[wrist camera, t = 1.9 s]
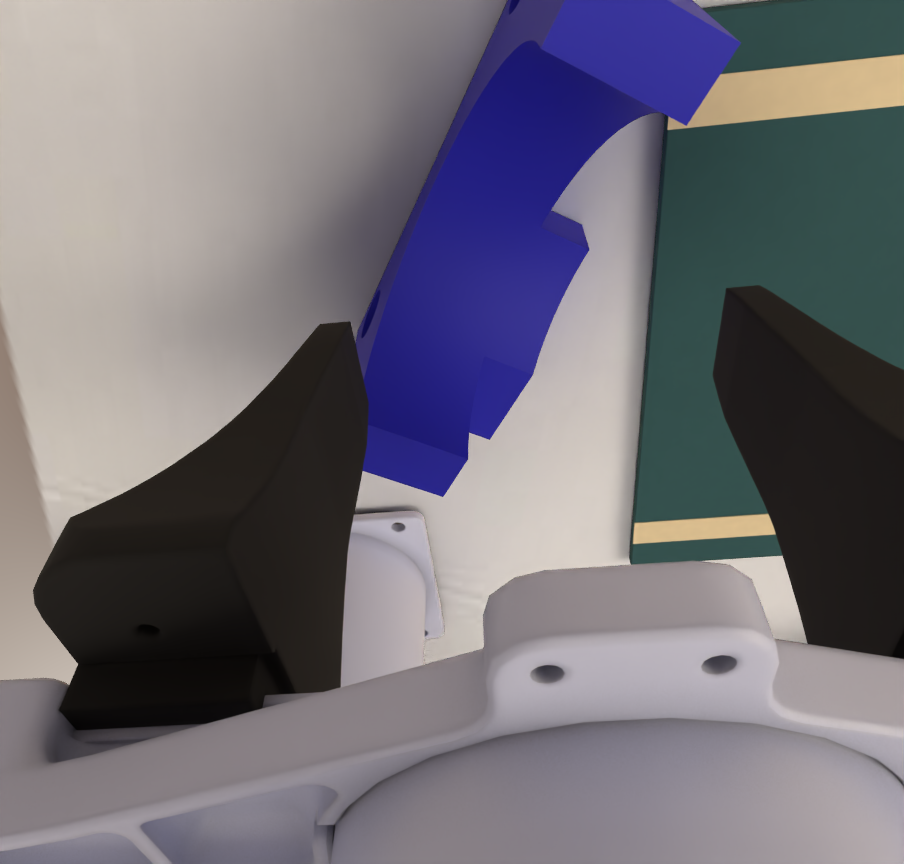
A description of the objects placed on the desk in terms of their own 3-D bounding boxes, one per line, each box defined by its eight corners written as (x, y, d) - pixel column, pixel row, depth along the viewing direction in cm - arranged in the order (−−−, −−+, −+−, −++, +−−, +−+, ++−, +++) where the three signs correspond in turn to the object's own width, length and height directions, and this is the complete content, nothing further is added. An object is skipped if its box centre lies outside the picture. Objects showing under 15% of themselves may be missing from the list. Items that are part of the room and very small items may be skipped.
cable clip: (486, 379, 25) (494, 513, 20) (357, 330, 23) (334, 461, 19) (716, 7, 17) (809, 83, 13) (549, -93, 16) (588, -46, 12)
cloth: (629, 558, 30) (631, 566, 30) (672, 11, 18) (677, 15, 17) (881, 541, 30) (885, 550, 29) (1120, -41, 17) (1133, -37, 16)
